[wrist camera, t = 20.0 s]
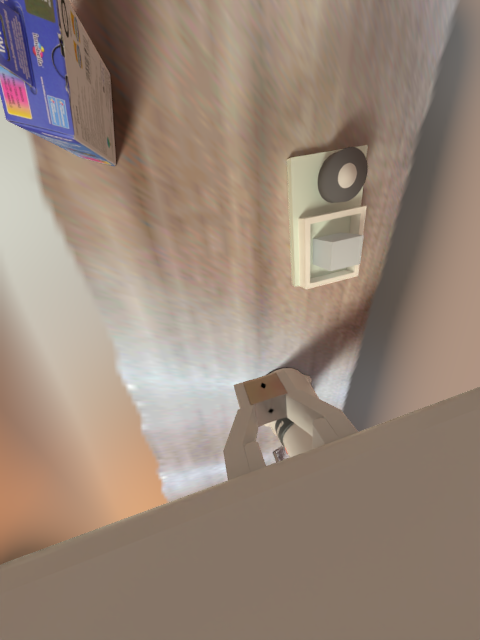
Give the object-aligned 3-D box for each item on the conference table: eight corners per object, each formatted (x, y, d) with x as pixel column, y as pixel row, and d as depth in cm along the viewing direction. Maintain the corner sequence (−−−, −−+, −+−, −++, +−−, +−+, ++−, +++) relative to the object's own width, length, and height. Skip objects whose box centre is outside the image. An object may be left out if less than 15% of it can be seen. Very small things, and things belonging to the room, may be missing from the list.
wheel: (353, 198, 36) (364, 197, 34) (316, 206, 35) (326, 205, 33) (357, 148, 32) (370, 143, 30) (317, 155, 32) (328, 150, 29)
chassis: (348, 270, 46) (362, 274, 43) (292, 284, 45) (301, 290, 41) (361, 147, 36) (380, 140, 32) (286, 159, 34) (298, 153, 30)
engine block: (338, 257, 43) (360, 263, 38) (312, 264, 42) (330, 271, 37) (340, 232, 40) (363, 235, 35) (312, 238, 39) (332, 242, 34)
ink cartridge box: (56, 51, 24) (-87, -130, 11) (110, 70, 25) (39, -70, 13) (71, 156, 28) (-21, 109, 15) (117, 167, 29) (67, 132, 17)
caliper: (272, 451, 74) (279, 470, 68) (274, 450, 74) (282, 469, 68) (280, 476, 84) (287, 494, 78) (283, 475, 84) (290, 493, 78)
